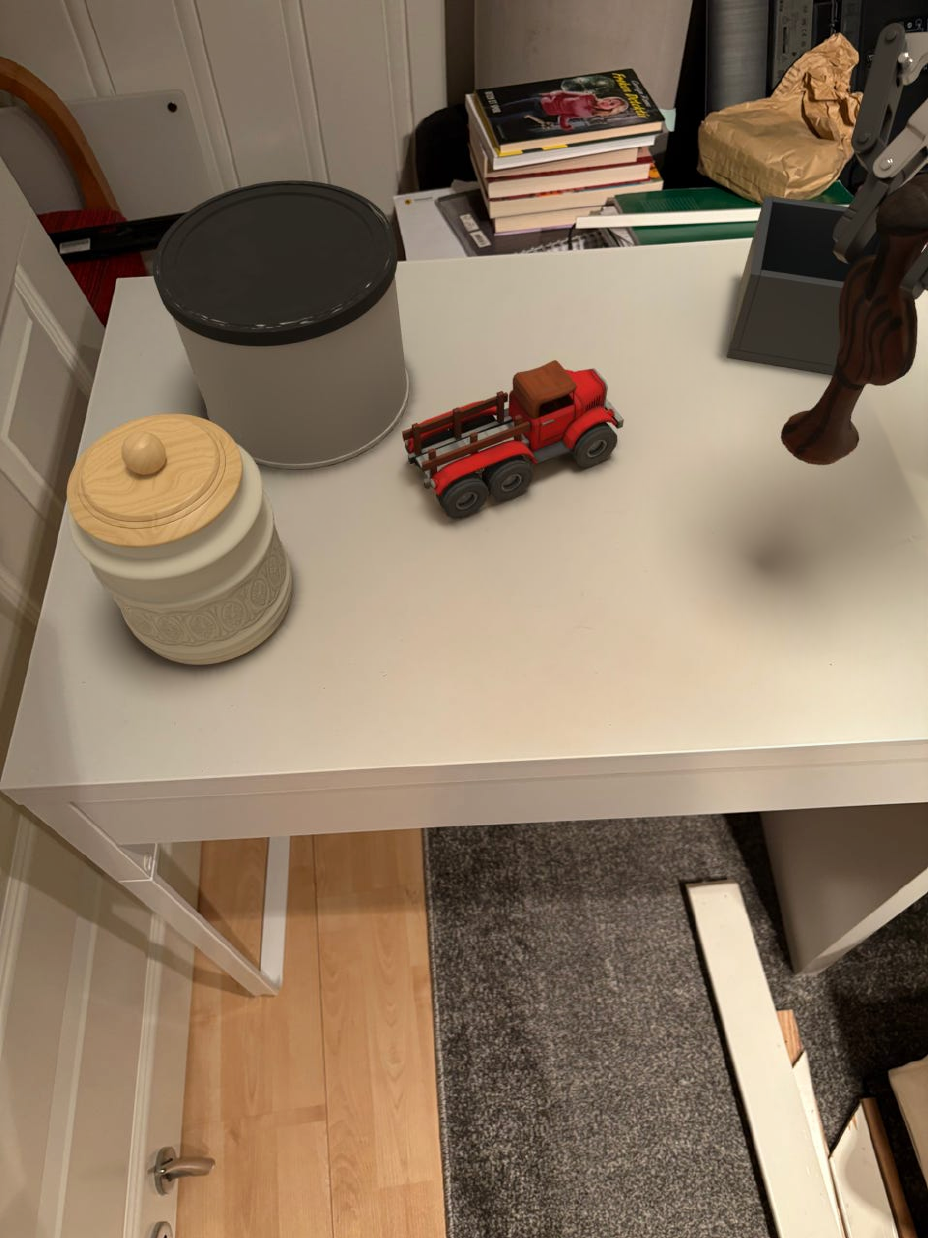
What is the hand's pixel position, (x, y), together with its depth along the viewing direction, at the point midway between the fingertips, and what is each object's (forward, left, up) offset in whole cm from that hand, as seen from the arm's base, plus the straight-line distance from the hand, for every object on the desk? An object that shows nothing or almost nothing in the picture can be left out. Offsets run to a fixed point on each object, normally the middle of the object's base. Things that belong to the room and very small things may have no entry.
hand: (875, 273), depth 46 cm
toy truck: (+21, -7, -27) cm, 35 cm away
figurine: (-1, -2, -14) cm, 14 cm away
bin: (-1, -30, -27) cm, 41 cm away
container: (+41, -10, -27) cm, 50 cm away
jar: (+40, +13, -27) cm, 50 cm away
